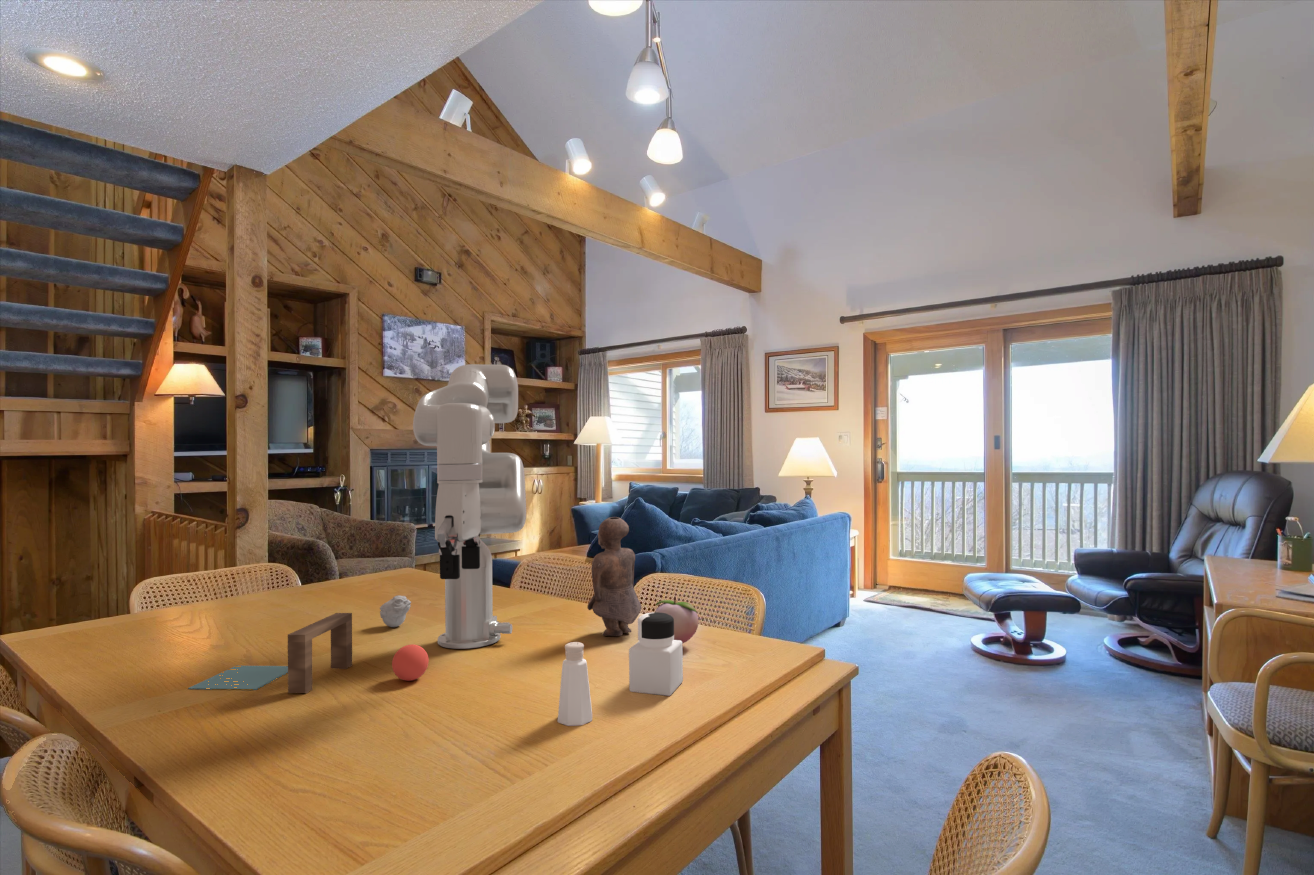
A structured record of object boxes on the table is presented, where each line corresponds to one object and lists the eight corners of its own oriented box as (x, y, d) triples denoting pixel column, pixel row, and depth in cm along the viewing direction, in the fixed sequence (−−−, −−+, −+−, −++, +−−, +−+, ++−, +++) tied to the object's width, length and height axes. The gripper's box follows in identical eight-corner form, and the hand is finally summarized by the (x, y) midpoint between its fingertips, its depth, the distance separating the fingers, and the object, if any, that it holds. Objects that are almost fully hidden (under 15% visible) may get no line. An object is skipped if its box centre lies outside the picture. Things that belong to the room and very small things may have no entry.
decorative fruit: (645, 650, 135) (644, 599, 136) (660, 639, 143) (660, 591, 143) (690, 655, 132) (689, 602, 132) (703, 643, 140) (703, 594, 140)
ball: (434, 674, 123) (434, 640, 123) (420, 685, 117) (420, 650, 117) (401, 673, 123) (401, 640, 123) (385, 685, 117) (385, 649, 117)
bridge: (352, 665, 128) (351, 612, 129) (305, 693, 113) (305, 634, 114) (336, 664, 129) (336, 612, 129) (287, 693, 114) (287, 634, 114)
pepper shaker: (563, 729, 98) (563, 651, 98) (551, 716, 103) (550, 642, 103) (599, 721, 100) (598, 645, 101) (585, 709, 105) (584, 637, 105)
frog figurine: (405, 630, 153) (405, 598, 153) (374, 630, 153) (374, 598, 153) (415, 623, 159) (415, 592, 159) (385, 623, 159) (385, 593, 159)
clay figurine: (616, 624, 156) (615, 513, 156) (652, 630, 150) (651, 515, 150) (578, 637, 145) (577, 518, 145) (615, 645, 139) (614, 521, 140)
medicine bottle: (683, 682, 117) (682, 611, 117) (670, 696, 110) (669, 621, 110) (643, 678, 119) (643, 608, 119) (628, 692, 113) (627, 618, 113)
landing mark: (298, 667, 128) (298, 666, 128) (256, 690, 116) (256, 688, 116) (236, 666, 128) (236, 665, 128) (188, 689, 116) (188, 687, 116)
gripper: (457, 473, 129) (458, 565, 128) (417, 476, 111) (418, 583, 111) (497, 472, 128) (497, 565, 128) (462, 476, 111) (463, 583, 110)
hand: (460, 573), depth 119 cm, fingers open, 9 cm apart
